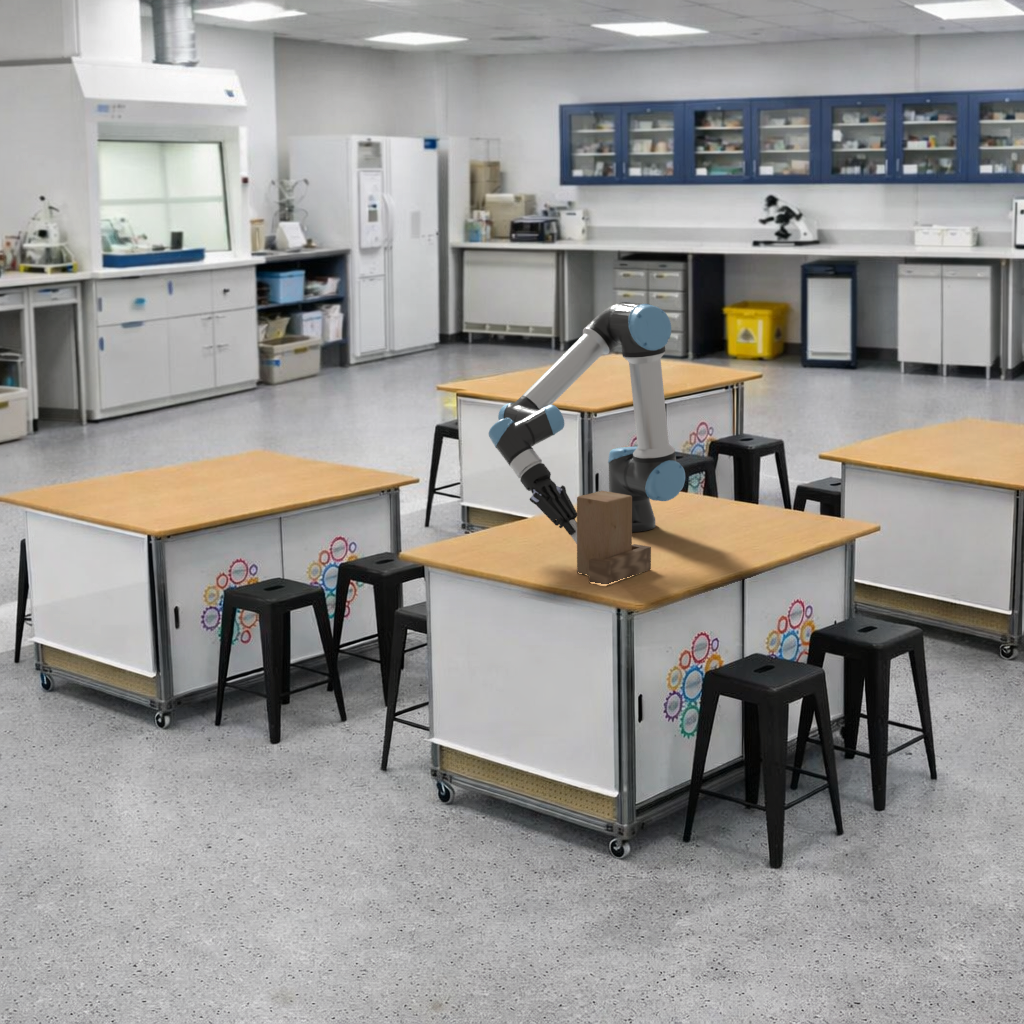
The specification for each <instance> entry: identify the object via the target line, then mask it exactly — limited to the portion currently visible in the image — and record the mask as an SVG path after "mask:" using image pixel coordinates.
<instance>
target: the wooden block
mask: <svg viewBox="0 0 1024 1024" xmlns="http://www.w3.org/2000/svg"><path fill="white" fill-rule="evenodd" d="M576 512H577V517H576V522H577V544H576V573H577V572H579V573H582V574H587V575H589V560H590V559H593V558H595V559H601V560H605V559H608V558H611V557H614V556H617V555H619V554H622V553H625V552H628V551H631V550H632V545H633V541H632V540H633V538H632V537H633V534H632V533H633V532H632V496H630V495H625V494H619V493H613V492H609V491H608V490H600V491H599V490H598V491H594V492H592V493H591V492H589V493H587V494H583V495H578V496H577V497H576Z"/></svg>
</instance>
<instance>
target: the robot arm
mask: <svg viewBox="0 0 1024 1024" xmlns="http://www.w3.org/2000/svg"><path fill="white" fill-rule="evenodd" d="M671 336H672V324H671V320H670V317H669V315H668V314H667V313H666V312H665V311H664V310H663V309H662V308H660V307H659V306H656V305H652V304H649V303H637V302H629V301H628V302H627V301H622V302H621V301H620V302H617V303H613V304H612V305H609V306H608V307H607V308H605V309H604V310H603V311H601V312H600V313H599V314H598V315H596V316H595V318H593V319H592V320H590V322H589V323H588V324H587V325H586V326H585V327H584V328H583V329H582V335H581V336H580V337H579V338H578V339H577V340H576V341H575V342H574V343H573V344H572V345H571V346H570V347H569V348H568V349H567V350H566V351H565V352H564V353H563V354H562V355H561V356H560V357H559V358H557V360H556V361H555V362H554V363H553V364H552V365H551V366H550V367H549V368H548V369H547V370H546V371H545V372H544V373H543V374H542V375H541V376H540V377H539V378H538V379H537V380H536V381H535V382H534V383H533V384H532V385H531V386H530V387H529V388H528V389H527V390H526V391H525V392H524V393H523V394H522V395H521V396H520V397H519V398H518V399H517V400H516V401H515V402H509V403H506V404H504V405H503V406H501V408H500V410H499V411H498V415H497V417H498V420H497V421H495V423H493V425H492V426H491V427H490V428H489V431H488V437H489V439H490V441H491V442H492V444H493V445H494V447H495V449H496V450H497V451H498V452H499V454H500V455H501V456H502V457H503V458H504V460H505V461H506V463H507V465H508V466H509V467H510V468H511V469H512V471H513V473H514V474H515V475H516V477H517V479H520V483H521V484H522V485H523V487H524V488H525V490H526V491H528V492H531V494H532V495H531V497H529V502H531V503H532V504H534V505H535V506H536V507H537V508H538V509H539V510H540V511H541V512H543V514H544V515H545V516H546V517H547V518H548V519H549V520H550V521H551V522H552V524H553V525H555V526H556V527H557V526H558V528H560V529H564V530H565V531H566V532H567V534H568V535H569V536H570V537H571V538H572V540H573V541H574V543H576V545H577V520H576V519H577V509H576V508H575V507H574V504H573V503H572V501H571V499H570V497H569V495H568V493H567V489H566V486H564V485H562V484H561V486H558V485H557V484H556V482H555V481H553V480H552V479H551V475H552V472H551V471H550V470H549V469H548V467H547V466H546V465H545V463H543V462H542V459H541V457H540V456H539V454H538V453H537V452H536V451H535V450H534V448H533V447H534V446H535V445H538V444H539V443H541V442H543V441H546V440H547V439H549V438H551V437H552V436H555V435H556V434H558V433H559V432H560V431H562V430H563V429H564V428H565V420H564V419H565V418H564V416H563V413H562V411H561V410H560V409H559V408H558V407H557V406H556V405H554V403H555V402H556V401H557V400H558V399H559V398H560V397H561V396H562V395H563V394H564V393H565V392H566V391H567V390H568V389H569V388H570V387H571V386H572V385H573V384H574V383H575V382H576V381H577V380H578V379H579V378H580V377H582V375H583V374H584V373H585V372H586V371H587V370H589V368H590V367H591V366H592V365H594V364H595V362H596V361H597V360H598V359H599V358H600V357H601V356H602V355H609V353H611V351H613V350H615V348H617V347H620V346H621V353H622V358H624V359H625V360H626V361H627V362H628V366H629V374H630V384H631V385H630V386H631V395H632V403H633V405H632V406H633V415H634V424H635V435H636V443H637V446H636V445H635V446H626V447H625V446H623V447H622V446H621V447H617V448H613V449H611V450H610V451H609V454H608V461H607V463H608V492H613V493H619V494H625V495H630V496H632V533H640V532H647V531H650V530H653V529H655V528H656V516H655V514H654V511H653V508H652V507H653V506H652V504H651V500H652V501H655V502H656V501H658V502H668V501H671V500H673V499H674V498H676V497H677V496H678V495H679V493H680V492H681V491H682V490H683V488H684V486H685V482H686V472H685V468H684V467H683V466H682V464H681V463H680V462H678V461H677V457H676V449H675V448H674V447H673V446H672V445H671V444H670V443H669V442H670V441H669V432H668V431H669V430H668V422H667V413H666V412H667V410H666V399H665V392H664V380H663V370H662V362H661V361H662V360H661V359H662V357H663V356H664V355H665V353H666V346H667V344H668V343H669V339H670V338H671Z"/></svg>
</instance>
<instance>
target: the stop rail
mask: <svg viewBox="0 0 1024 1024" xmlns="http://www.w3.org/2000/svg"><path fill="white" fill-rule="evenodd" d="M650 569H651V570H652V547H651V546H648V545H643V544H636V543H632V550H631V551H628V552H625V553H622V554H619V555H617V556H614V557H611V558H608V559H605V560H601V559H595V558H593V559H590V560H589V576H588V582H589V581H590V582H595V583H601V584H609V583H611V582H614V581H618V580H620V579H623V578H627V577H630V576H632V575H636V574H638V575H640V574H639V573H641V572H644V573H646V572H648V570H649V571H651V570H650ZM645 571H646V572H645ZM641 574H642V573H641ZM636 576H637V575H636ZM630 578H631V577H630Z"/></svg>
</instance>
